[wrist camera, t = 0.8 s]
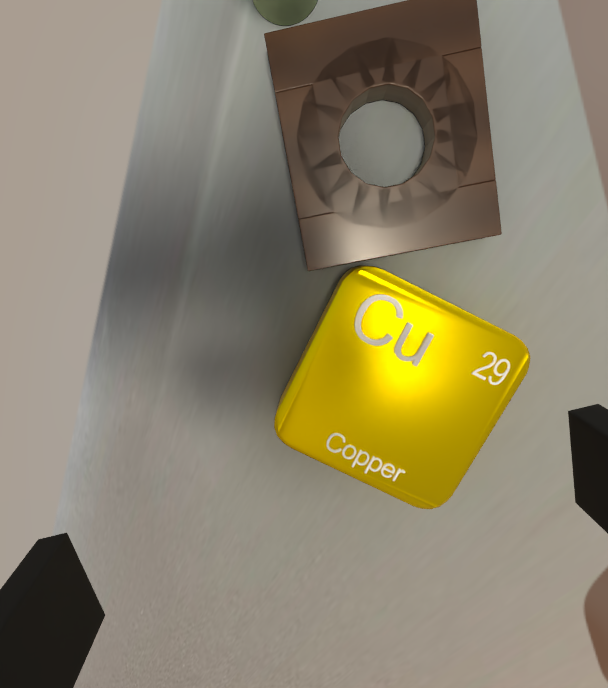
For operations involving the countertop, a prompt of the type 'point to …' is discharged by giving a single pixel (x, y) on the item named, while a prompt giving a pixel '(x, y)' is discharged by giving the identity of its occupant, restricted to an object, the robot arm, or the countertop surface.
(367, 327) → the element tile
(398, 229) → the hole board
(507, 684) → the countertop surface
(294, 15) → the bottle
